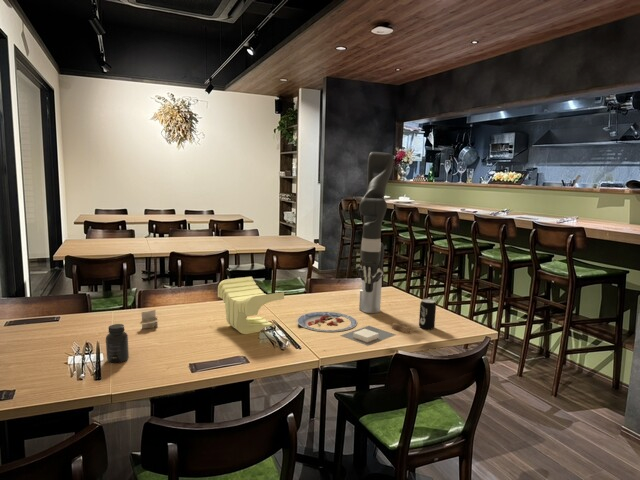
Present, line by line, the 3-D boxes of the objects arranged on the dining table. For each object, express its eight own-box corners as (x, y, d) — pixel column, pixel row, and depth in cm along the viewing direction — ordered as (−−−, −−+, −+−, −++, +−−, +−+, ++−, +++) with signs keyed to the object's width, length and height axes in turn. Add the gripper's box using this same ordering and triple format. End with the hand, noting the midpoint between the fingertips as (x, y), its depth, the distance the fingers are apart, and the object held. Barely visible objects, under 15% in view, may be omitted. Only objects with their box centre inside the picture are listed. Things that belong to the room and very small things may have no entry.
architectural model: (159, 329, 185) (158, 311, 184) (141, 332, 181) (141, 314, 180) (156, 327, 188) (155, 309, 187) (138, 330, 184) (138, 312, 183)
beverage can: (434, 330, 192) (436, 303, 190) (418, 329, 193) (420, 302, 191) (434, 325, 198) (435, 299, 196) (418, 324, 200) (420, 297, 198)
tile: (353, 332, 176) (367, 337, 171) (364, 328, 181) (378, 333, 176) (353, 337, 176) (367, 342, 172) (364, 333, 181) (378, 338, 177)
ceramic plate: (319, 312, 213) (319, 306, 212) (367, 324, 198) (368, 318, 198) (284, 326, 192) (284, 320, 191) (335, 341, 177) (335, 333, 177)
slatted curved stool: (217, 320, 197) (217, 280, 195) (251, 314, 206) (251, 276, 203) (246, 342, 173) (246, 297, 170) (283, 335, 181) (284, 292, 179)
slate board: (339, 339, 179) (340, 335, 179) (368, 329, 191) (368, 325, 191) (367, 349, 169) (367, 345, 169) (395, 338, 182) (396, 334, 181)
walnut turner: (411, 334, 187) (412, 326, 186) (403, 337, 183) (403, 329, 182) (386, 326, 196) (386, 318, 196) (377, 329, 192) (378, 321, 191)
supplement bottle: (111, 355, 157) (109, 322, 155) (131, 355, 157) (130, 322, 156) (103, 364, 150) (102, 329, 148) (124, 364, 151) (123, 329, 149)
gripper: (352, 247, 180) (350, 290, 183) (378, 252, 170) (376, 297, 173) (364, 245, 185) (362, 287, 188) (390, 250, 176) (388, 294, 179)
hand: (368, 291), depth 181 cm, fingers closed
